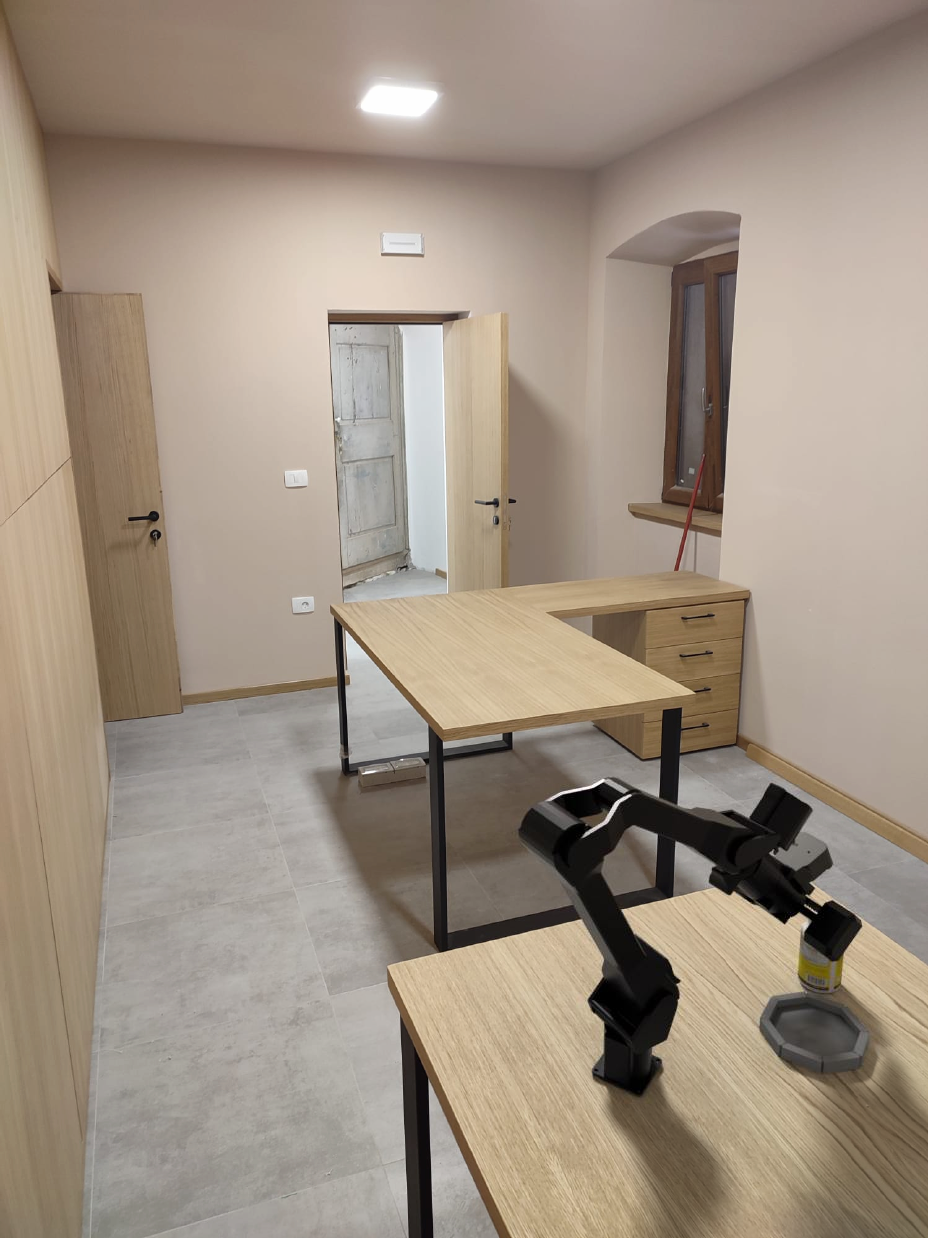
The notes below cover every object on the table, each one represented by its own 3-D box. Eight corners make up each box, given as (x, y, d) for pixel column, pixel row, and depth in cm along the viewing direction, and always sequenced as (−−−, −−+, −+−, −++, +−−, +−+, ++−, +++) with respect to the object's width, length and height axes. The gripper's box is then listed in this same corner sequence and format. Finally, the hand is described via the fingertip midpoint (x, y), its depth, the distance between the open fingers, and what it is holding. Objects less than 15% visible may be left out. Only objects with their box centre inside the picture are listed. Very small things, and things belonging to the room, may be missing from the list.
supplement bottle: (827, 967, 121) (833, 903, 119) (848, 994, 116) (855, 927, 113) (789, 970, 121) (794, 906, 118) (808, 997, 115) (814, 930, 113)
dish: (853, 1087, 100) (855, 1076, 100) (750, 1045, 107) (751, 1035, 107) (874, 1026, 110) (875, 1015, 109) (778, 991, 117) (778, 981, 116)
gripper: (857, 858, 101) (914, 915, 108) (745, 794, 118) (800, 848, 125) (802, 936, 100) (863, 988, 107) (696, 861, 116) (755, 910, 124)
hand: (818, 928), depth 116 cm, fingers open, 9 cm apart
